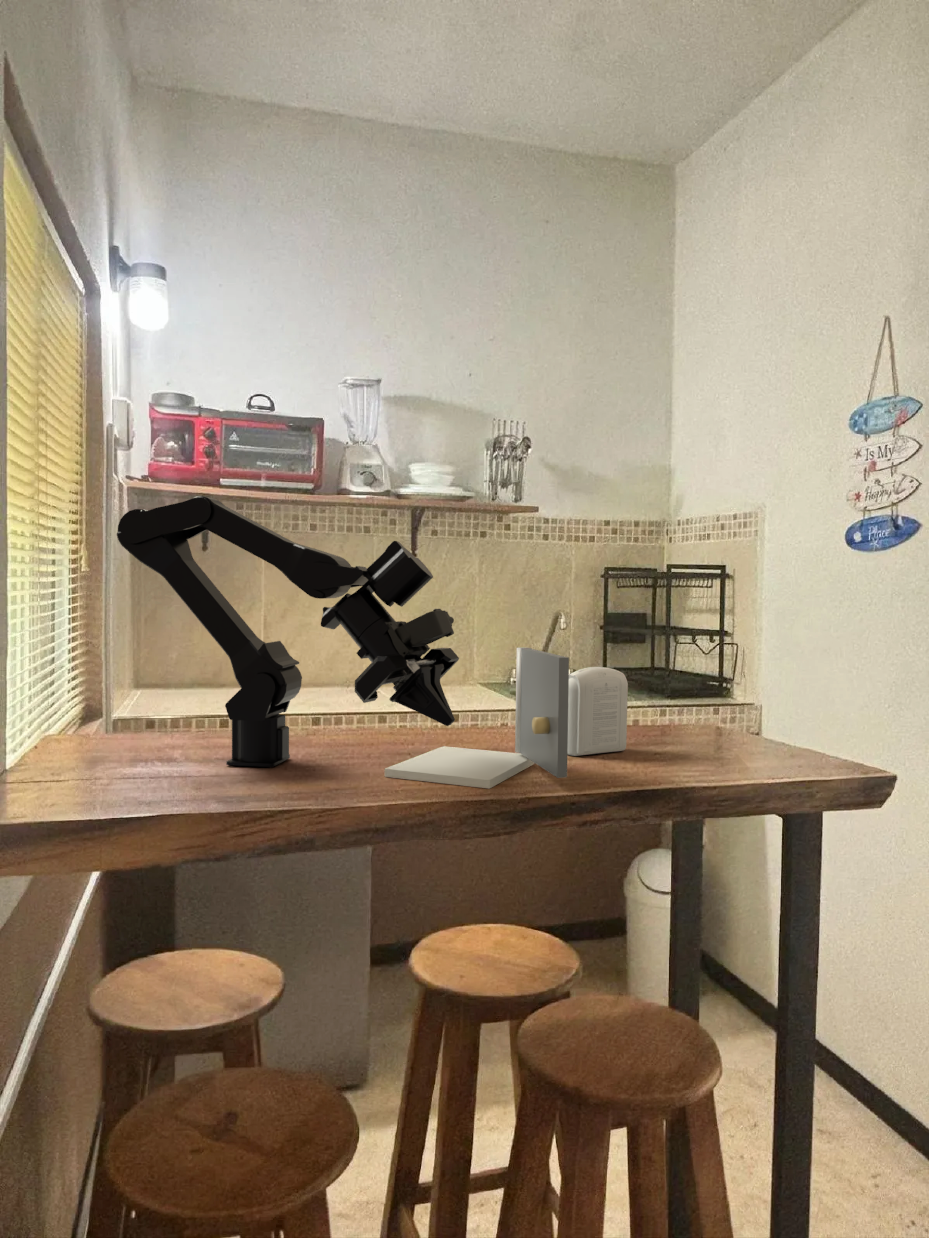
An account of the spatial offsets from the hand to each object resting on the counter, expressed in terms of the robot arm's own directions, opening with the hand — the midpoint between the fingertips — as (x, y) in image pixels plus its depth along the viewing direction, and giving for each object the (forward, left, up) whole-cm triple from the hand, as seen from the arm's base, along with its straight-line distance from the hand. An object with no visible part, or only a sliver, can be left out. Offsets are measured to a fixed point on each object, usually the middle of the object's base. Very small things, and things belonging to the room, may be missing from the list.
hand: (451, 723), depth 106 cm
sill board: (+1, +5, -7) cm, 8 cm away
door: (+10, +3, -5) cm, 12 cm away
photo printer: (+18, +20, -7) cm, 28 cm away
